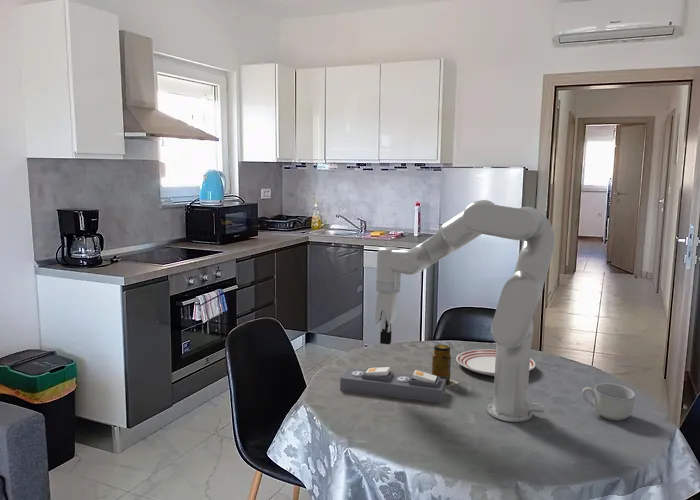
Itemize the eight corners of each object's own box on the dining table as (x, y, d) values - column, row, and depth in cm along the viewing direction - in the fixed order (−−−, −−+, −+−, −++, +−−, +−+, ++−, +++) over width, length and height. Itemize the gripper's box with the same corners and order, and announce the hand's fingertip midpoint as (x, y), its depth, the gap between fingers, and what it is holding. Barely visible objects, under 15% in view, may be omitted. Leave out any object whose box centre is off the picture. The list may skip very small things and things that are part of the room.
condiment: (440, 376, 198) (441, 342, 196) (459, 383, 191) (461, 348, 190) (425, 380, 193) (426, 345, 192) (444, 388, 187) (446, 352, 185)
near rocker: (436, 379, 182) (437, 375, 181) (434, 384, 177) (435, 380, 177) (414, 373, 183) (415, 369, 183) (412, 378, 179) (412, 374, 179)
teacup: (634, 413, 169) (636, 387, 168) (631, 427, 160) (633, 400, 159) (583, 403, 176) (585, 378, 175) (577, 416, 167) (579, 389, 166)
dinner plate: (440, 366, 208) (440, 357, 207) (484, 351, 226) (485, 343, 225) (506, 388, 188) (507, 379, 187) (549, 370, 206) (550, 361, 205)
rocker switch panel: (445, 391, 184) (445, 375, 183) (441, 403, 175) (441, 386, 174) (349, 379, 193) (349, 364, 192) (340, 390, 184) (340, 374, 183)
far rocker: (390, 370, 186) (389, 366, 185) (387, 375, 181) (386, 371, 181) (369, 371, 188) (368, 367, 188) (366, 376, 183) (365, 372, 183)
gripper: (381, 281, 188) (379, 335, 191) (370, 290, 174) (367, 348, 177) (404, 283, 186) (401, 338, 189) (394, 292, 172) (392, 351, 174)
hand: (385, 343), depth 183 cm, fingers closed
